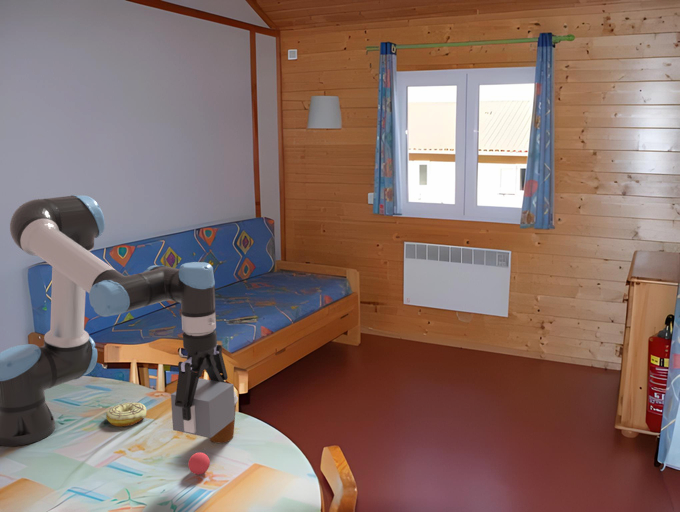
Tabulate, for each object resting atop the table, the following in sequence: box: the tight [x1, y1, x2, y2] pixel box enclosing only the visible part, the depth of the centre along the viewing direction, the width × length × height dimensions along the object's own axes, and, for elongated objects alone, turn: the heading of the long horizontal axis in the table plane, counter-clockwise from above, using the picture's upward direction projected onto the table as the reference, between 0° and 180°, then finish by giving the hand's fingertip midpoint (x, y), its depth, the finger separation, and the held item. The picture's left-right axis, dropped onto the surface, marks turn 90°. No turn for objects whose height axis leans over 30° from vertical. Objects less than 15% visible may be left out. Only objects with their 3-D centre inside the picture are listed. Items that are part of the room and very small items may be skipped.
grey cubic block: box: [170, 377, 236, 439], centre depth 145 cm, size 10×10×9 cm
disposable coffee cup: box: [209, 391, 239, 444], centre depth 165 cm, size 10×10×12 cm
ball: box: [187, 452, 211, 476], centre depth 149 cm, size 5×5×5 cm
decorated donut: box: [105, 402, 147, 428], centre depth 177 cm, size 10×11×4 cm
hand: (204, 421), depth 146 cm, fingers closed on grey cubic block, 10 cm apart
